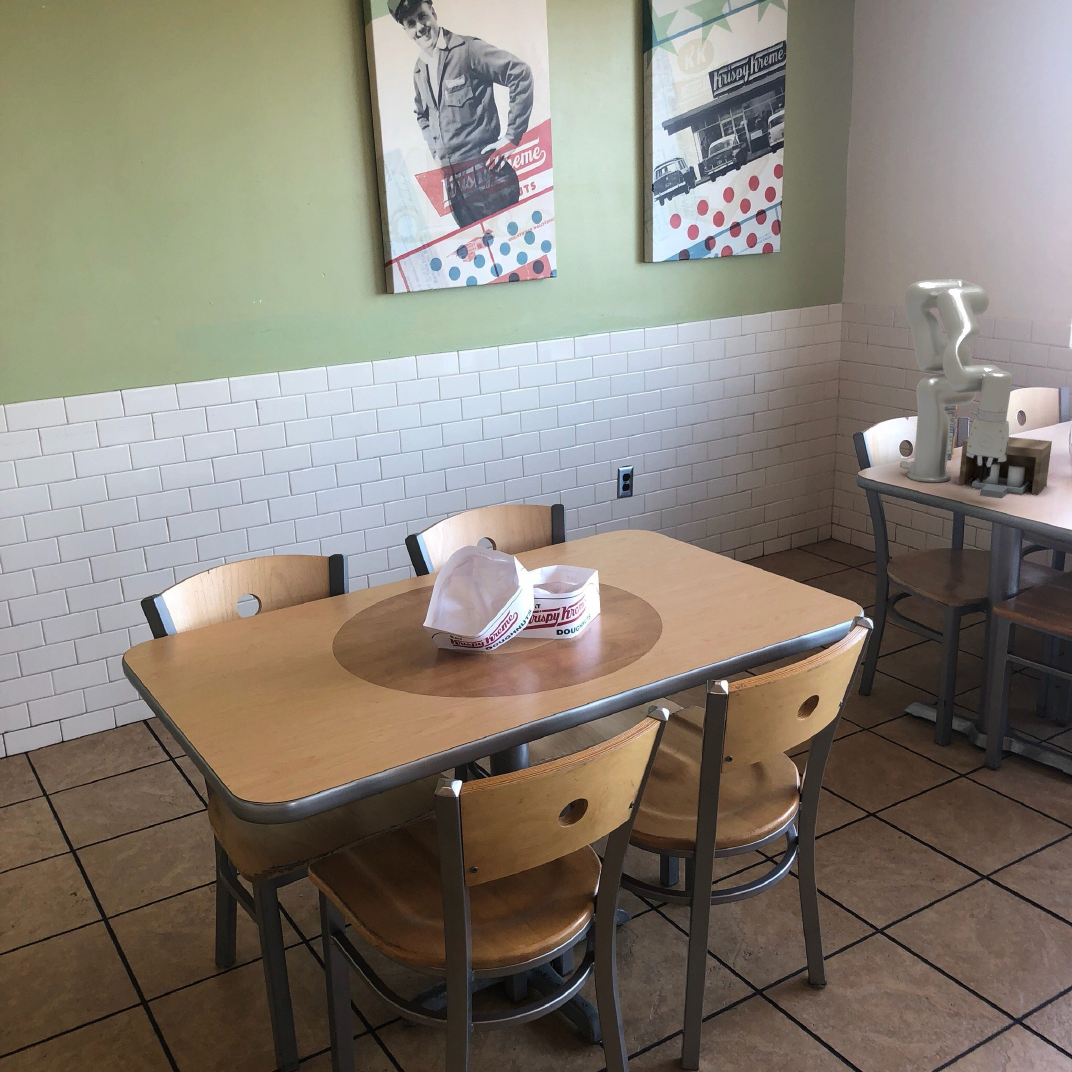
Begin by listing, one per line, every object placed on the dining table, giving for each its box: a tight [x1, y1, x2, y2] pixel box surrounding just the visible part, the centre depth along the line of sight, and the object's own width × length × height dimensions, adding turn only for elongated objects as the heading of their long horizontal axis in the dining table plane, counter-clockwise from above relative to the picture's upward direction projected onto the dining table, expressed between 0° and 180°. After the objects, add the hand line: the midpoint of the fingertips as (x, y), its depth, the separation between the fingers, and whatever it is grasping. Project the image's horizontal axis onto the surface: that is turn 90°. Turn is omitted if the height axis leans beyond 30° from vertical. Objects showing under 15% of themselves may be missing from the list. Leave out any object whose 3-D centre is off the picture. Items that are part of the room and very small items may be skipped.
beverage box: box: [944, 406, 959, 461], centre depth 349 cm, size 7×11×22 cm, turn 156°
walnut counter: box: [958, 436, 1053, 496], centre depth 314 cm, size 22×12×14 cm, turn 54°
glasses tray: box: [971, 462, 1031, 499], centre depth 310 cm, size 14×16×7 cm
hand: (983, 478), depth 299 cm, fingers closed
